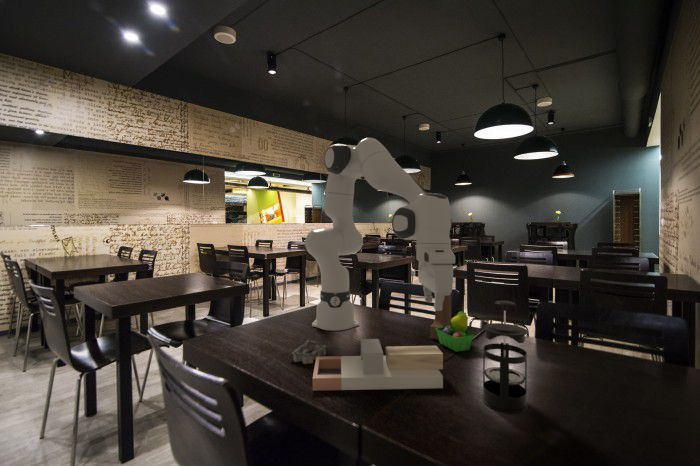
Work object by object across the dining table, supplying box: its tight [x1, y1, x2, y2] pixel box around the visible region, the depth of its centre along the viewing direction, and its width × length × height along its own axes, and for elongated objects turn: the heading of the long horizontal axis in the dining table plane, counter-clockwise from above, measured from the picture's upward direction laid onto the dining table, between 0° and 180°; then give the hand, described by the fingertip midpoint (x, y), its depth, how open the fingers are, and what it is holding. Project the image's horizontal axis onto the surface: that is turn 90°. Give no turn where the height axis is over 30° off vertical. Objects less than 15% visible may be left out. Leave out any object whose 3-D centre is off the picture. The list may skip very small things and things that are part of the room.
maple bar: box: [385, 345, 444, 370], centre depth 92 cm, size 6×14×4 cm, turn 92°
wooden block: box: [429, 293, 452, 341], centre depth 125 cm, size 9×4×18 cm, turn 142°
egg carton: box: [290, 338, 327, 365], centre depth 106 cm, size 11×8×4 cm
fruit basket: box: [436, 311, 475, 353], centre depth 115 cm, size 11×9×11 cm
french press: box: [481, 300, 529, 415], centre depth 79 cm, size 12×9×23 cm
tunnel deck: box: [312, 338, 444, 392], centre depth 92 cm, size 14×32×8 cm, turn 92°
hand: (433, 305), depth 92 cm, fingers open, 8 cm apart
